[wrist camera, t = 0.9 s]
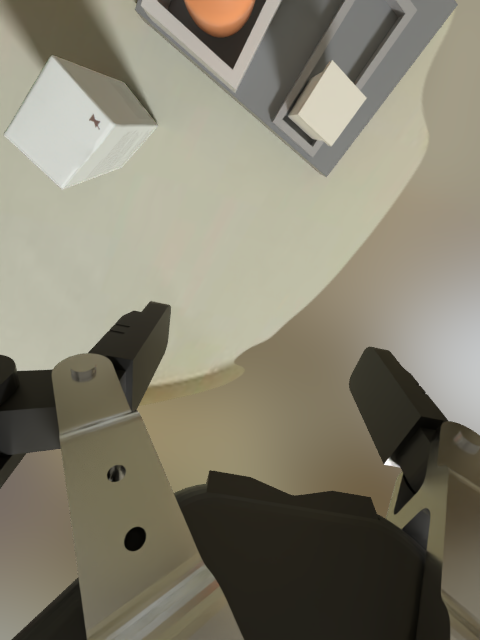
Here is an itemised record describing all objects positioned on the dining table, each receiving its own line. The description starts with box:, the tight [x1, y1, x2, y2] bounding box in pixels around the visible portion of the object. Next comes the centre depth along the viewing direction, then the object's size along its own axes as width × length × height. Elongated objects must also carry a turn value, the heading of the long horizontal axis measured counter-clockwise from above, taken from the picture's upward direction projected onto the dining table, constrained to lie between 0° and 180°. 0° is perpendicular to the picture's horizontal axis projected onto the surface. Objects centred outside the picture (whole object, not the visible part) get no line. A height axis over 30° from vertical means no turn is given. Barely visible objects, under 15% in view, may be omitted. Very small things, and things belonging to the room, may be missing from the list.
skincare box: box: [4, 55, 158, 189], centre depth 21 cm, size 6×4×12 cm
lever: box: [288, 60, 366, 146], centre depth 21 cm, size 3×3×6 cm
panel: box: [135, 0, 458, 177], centre depth 20 cm, size 20×14×6 cm
